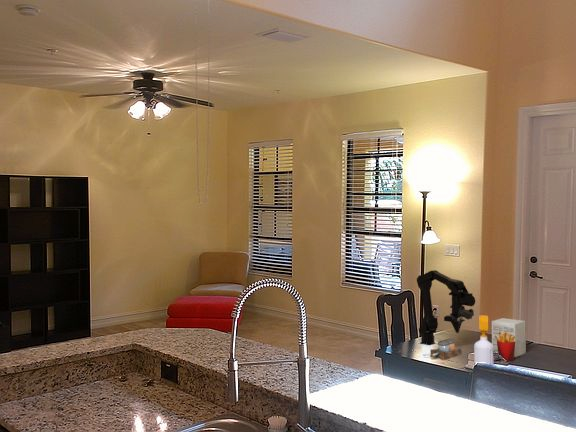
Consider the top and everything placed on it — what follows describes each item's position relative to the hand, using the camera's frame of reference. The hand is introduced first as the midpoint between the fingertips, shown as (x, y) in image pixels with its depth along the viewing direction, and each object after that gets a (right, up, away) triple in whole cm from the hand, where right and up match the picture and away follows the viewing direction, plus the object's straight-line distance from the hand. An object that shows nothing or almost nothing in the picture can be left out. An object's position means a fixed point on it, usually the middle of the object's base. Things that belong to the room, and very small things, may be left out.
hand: (457, 332), depth 315 cm
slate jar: (-10, -10, -10) cm, 17 cm away
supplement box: (+26, -10, -5) cm, 29 cm away
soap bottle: (+4, -11, -30) cm, 32 cm away
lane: (-9, -10, -9) cm, 16 cm away
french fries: (+18, -10, -21) cm, 30 cm away
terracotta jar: (-6, -10, -6) cm, 13 cm away
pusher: (-15, -10, -15) cm, 24 cm away
